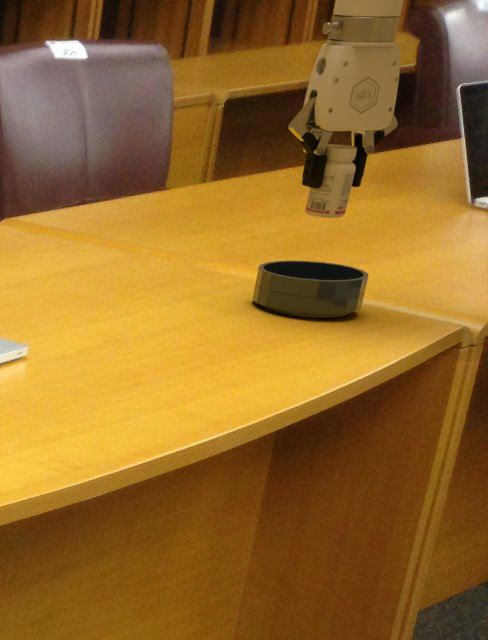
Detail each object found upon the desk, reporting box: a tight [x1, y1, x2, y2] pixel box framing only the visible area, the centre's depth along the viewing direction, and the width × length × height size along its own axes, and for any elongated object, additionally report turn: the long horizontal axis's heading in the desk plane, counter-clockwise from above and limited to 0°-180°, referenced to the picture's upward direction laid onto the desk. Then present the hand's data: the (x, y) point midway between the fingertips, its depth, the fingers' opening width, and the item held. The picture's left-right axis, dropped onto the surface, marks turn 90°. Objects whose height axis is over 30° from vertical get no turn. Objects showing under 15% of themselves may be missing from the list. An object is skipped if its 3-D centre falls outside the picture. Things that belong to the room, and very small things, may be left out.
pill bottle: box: [304, 143, 357, 219], centre depth 195 cm, size 5×5×8 cm
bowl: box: [252, 260, 369, 319], centre depth 201 cm, size 13×13×5 cm
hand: (330, 184), depth 195 cm, fingers closed on pill bottle, 4 cm apart
